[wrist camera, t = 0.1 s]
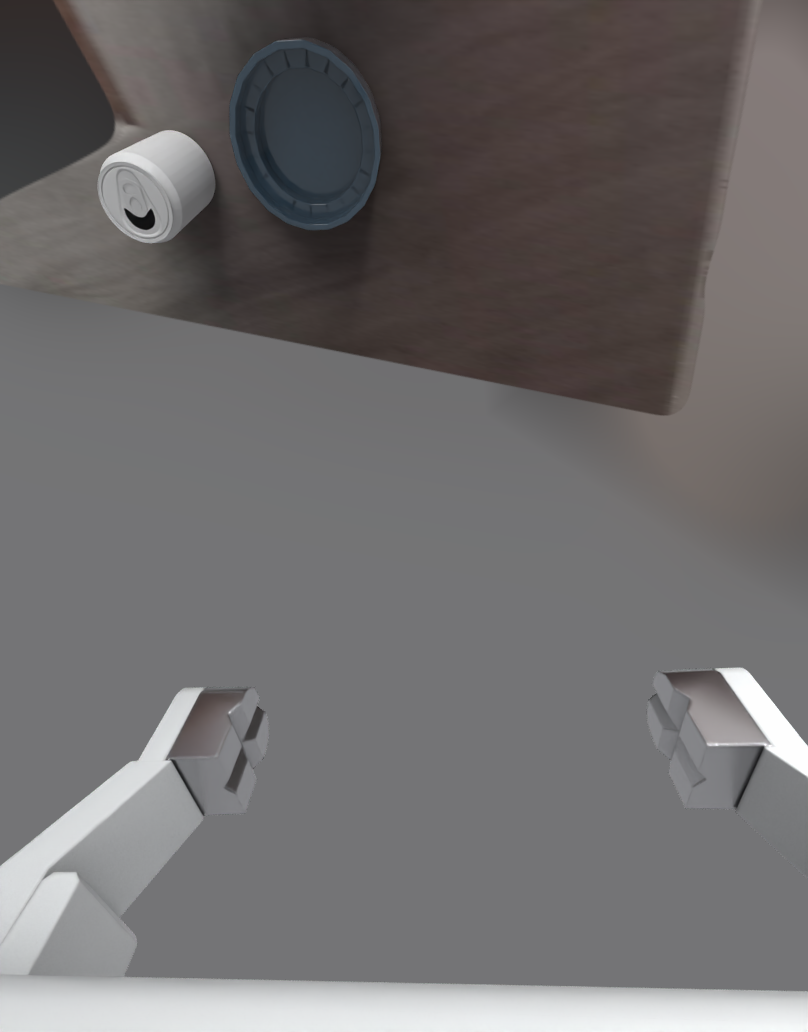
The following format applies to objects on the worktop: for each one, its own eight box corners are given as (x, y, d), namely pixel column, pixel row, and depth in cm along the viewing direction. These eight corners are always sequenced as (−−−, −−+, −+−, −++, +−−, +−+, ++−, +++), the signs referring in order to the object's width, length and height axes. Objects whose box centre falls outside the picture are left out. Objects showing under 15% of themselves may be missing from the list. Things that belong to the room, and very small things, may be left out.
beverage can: (164, 207, 48) (114, 248, 39) (138, 127, 43) (75, 155, 35) (225, 208, 48) (188, 249, 40) (206, 128, 43) (159, 156, 35)
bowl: (274, -9, 36) (262, -10, 33) (408, 112, 42) (408, 120, 39) (223, 160, 44) (210, 171, 41) (341, 242, 50) (337, 257, 47)
